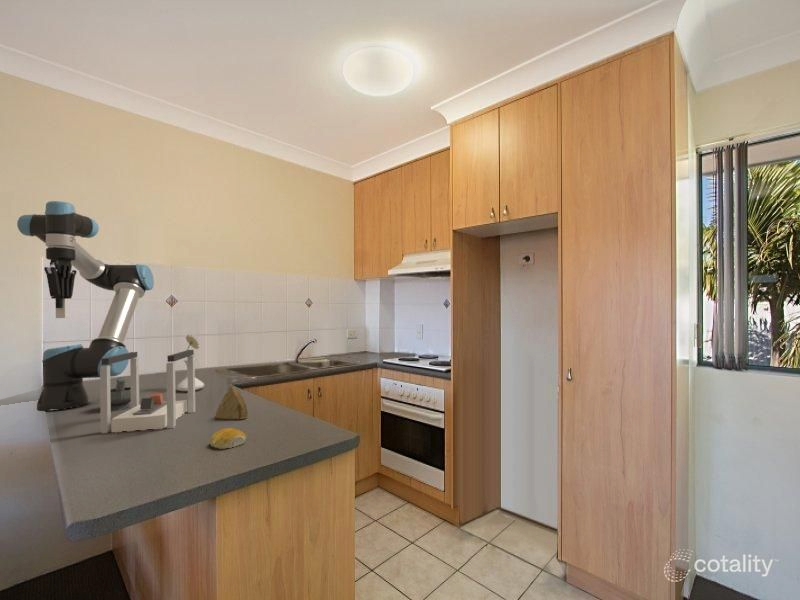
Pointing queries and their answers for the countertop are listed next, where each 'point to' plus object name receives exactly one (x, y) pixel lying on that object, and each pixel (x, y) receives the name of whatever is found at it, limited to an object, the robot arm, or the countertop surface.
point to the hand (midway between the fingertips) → (61, 317)
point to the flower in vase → (184, 384)
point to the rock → (232, 406)
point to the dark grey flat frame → (134, 354)
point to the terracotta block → (157, 398)
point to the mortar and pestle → (120, 395)
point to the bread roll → (227, 438)
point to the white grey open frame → (136, 416)
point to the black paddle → (147, 403)
